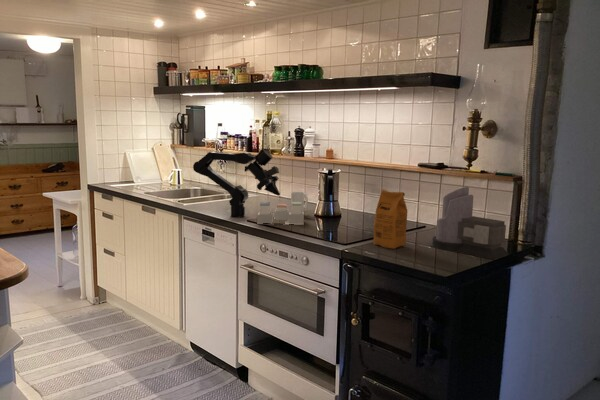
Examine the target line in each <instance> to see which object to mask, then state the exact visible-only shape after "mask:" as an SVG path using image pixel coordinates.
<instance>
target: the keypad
mask: <svg viewBox="0 0 600 400" xmlns="http://www.w3.org/2000/svg"><path fill="white" fill-rule="evenodd" d="M273 217H274V219H276V220H287V221H285V224H284V225H289V224H294V225H293V226H296V225H298V226H299V225H301V226H304V223H305V221H304V220H305V211H304V212H301V214H292V212H291V211H290V209H288V208H287V211H277V208H275V209H274V212H271V211H270V215H266V214H260V211H258V212H257V217H256V218H257V220H256V221H257V225H264V224H263V223H271V224H270V225H273V224H272V222H273Z"/></svg>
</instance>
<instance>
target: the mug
mask: <svg viewBox="0 0 600 400" xmlns="http://www.w3.org/2000/svg"><path fill="white" fill-rule="evenodd" d="M290 197H291V198H290V201H291V202H290V203H291V204H290V205H291V209H290V212H292V202H302V203H301V212H304V213H305V211H304V210H306V209H307V206H308V204H309V203H308V201H309V199H308V196H307V193H305V192H304V191H291V192H290ZM304 202H305V203H304Z"/></svg>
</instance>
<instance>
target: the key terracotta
mask: <svg viewBox="0 0 600 400" xmlns="http://www.w3.org/2000/svg"><path fill="white" fill-rule="evenodd" d="M287 206H288V204H285V203H277V205H276V209H277V211H287V209H288V208H287Z"/></svg>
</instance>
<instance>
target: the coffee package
mask: <svg viewBox="0 0 600 400" xmlns="http://www.w3.org/2000/svg"><path fill="white" fill-rule="evenodd" d="M404 197H405V192H403V191H402V192H401V191H389V190H386V189H381V192H380V195H379V198H378V202H377V206H376V209H375V214H374V215H375V216H374V223H373V245H374V246H380V247H382V248H386V249H397V248H399V247H403V246H405V245H406V244H407V243H406V241H407V224H408V209H407V208H408V207H407V205H406V202H405V198H404Z"/></svg>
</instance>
